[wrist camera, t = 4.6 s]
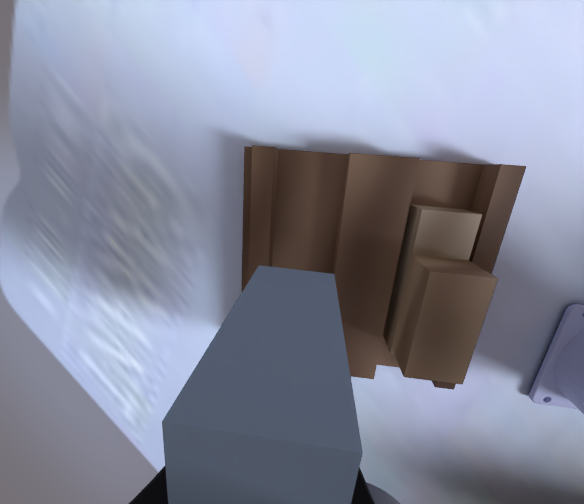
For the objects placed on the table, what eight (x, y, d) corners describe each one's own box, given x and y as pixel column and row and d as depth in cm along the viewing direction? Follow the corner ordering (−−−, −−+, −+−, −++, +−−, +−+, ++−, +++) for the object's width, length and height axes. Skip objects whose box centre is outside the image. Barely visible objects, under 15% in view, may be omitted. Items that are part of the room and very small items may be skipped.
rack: (500, 166, 16) (532, 166, 13) (441, 363, 20) (458, 389, 18) (248, 147, 17) (237, 144, 14) (243, 339, 21) (234, 361, 19)
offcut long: (462, 208, 16) (482, 214, 14) (427, 339, 18) (439, 359, 17) (409, 204, 16) (422, 209, 14) (382, 334, 19) (390, 353, 17)
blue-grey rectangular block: (334, 273, 11) (362, 452, 4) (307, 458, 14) (297, 738, 7) (258, 265, 11) (161, 421, 4) (248, 449, 14) (183, 712, 7)
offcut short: (468, 260, 15) (498, 278, 12) (441, 353, 16) (462, 384, 14) (412, 254, 15) (430, 271, 12) (391, 346, 17) (403, 376, 14)
